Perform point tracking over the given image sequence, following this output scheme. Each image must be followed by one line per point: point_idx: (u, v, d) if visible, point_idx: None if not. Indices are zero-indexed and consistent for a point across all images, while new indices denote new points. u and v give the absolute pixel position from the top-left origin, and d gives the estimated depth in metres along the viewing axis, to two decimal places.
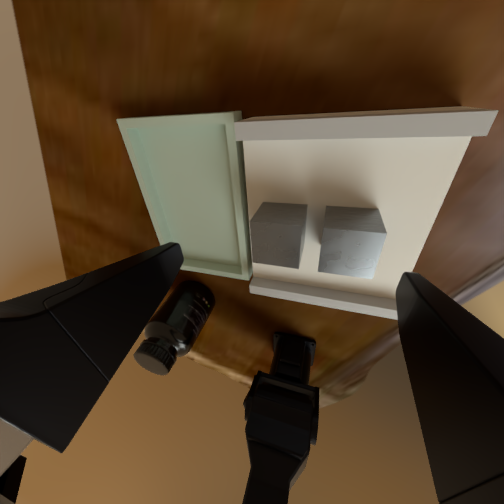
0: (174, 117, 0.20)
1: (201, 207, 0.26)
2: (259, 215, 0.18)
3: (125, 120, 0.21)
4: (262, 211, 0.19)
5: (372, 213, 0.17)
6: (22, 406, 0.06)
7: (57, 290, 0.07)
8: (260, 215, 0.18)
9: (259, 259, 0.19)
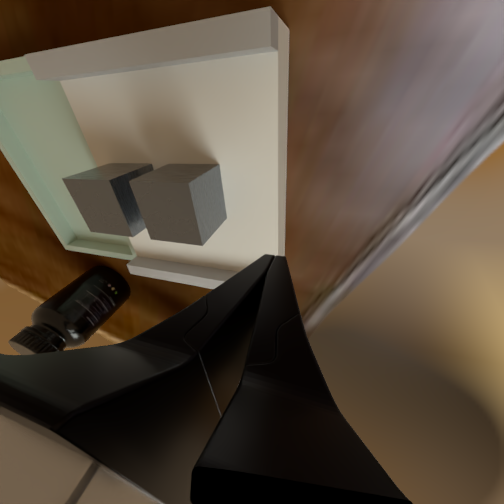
0: None
1: None
2: (82, 173, 0.15)
3: None
4: (92, 170, 0.16)
5: (205, 168, 0.14)
6: (169, 476, 0.04)
7: (187, 321, 0.05)
8: (83, 173, 0.15)
9: (94, 227, 0.16)
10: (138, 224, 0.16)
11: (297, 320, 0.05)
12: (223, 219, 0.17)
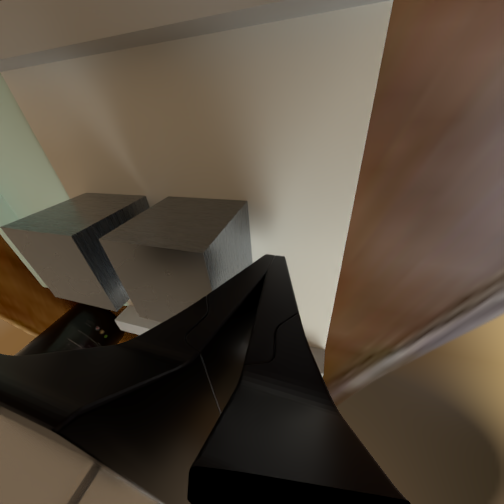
0: None
1: (51, 204, 0.18)
2: (38, 215, 0.10)
3: None
4: (55, 209, 0.10)
5: (226, 209, 0.09)
6: (171, 476, 0.04)
7: (189, 321, 0.05)
8: (39, 215, 0.10)
9: (59, 292, 0.11)
10: (125, 290, 0.11)
11: (296, 320, 0.05)
12: None
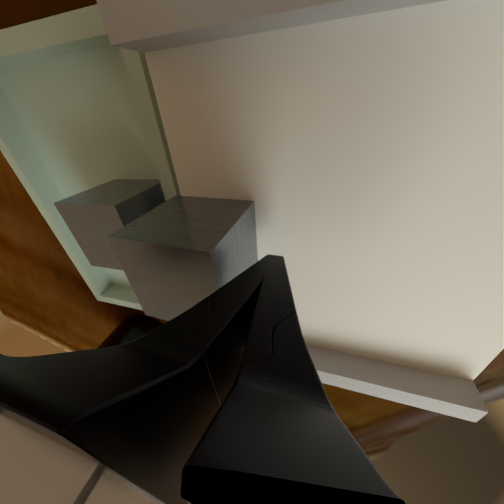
0: (21, 28, 0.09)
1: None
2: (123, 181, 0.14)
3: None
4: (131, 182, 0.13)
5: (233, 209, 0.09)
6: (174, 478, 0.04)
7: (191, 322, 0.05)
8: (122, 182, 0.14)
9: None
10: (97, 259, 0.13)
11: (293, 319, 0.05)
12: None
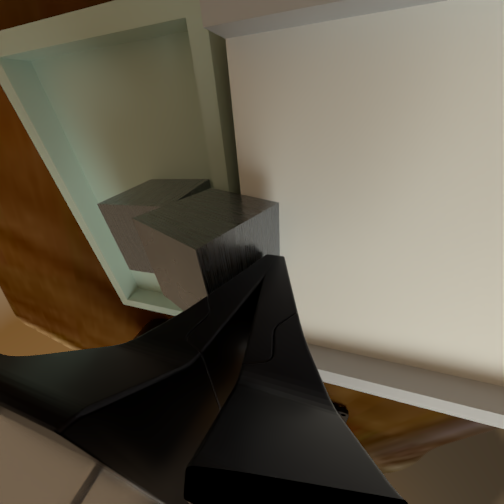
0: (76, 15, 0.09)
1: None
2: (162, 181, 0.13)
3: None
4: (171, 181, 0.13)
5: (251, 208, 0.08)
6: (172, 477, 0.04)
7: (190, 322, 0.05)
8: (161, 181, 0.13)
9: None
10: (137, 263, 0.12)
11: (295, 320, 0.05)
12: None
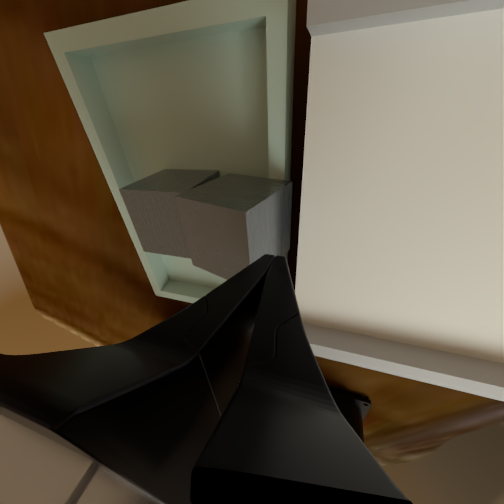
0: (153, 12, 0.09)
1: None
2: (175, 171, 0.14)
3: (60, 33, 0.11)
4: (184, 171, 0.14)
5: (272, 186, 0.11)
6: (169, 476, 0.04)
7: (188, 321, 0.05)
8: (174, 171, 0.14)
9: None
10: (152, 245, 0.13)
11: (297, 320, 0.05)
12: (284, 251, 0.13)
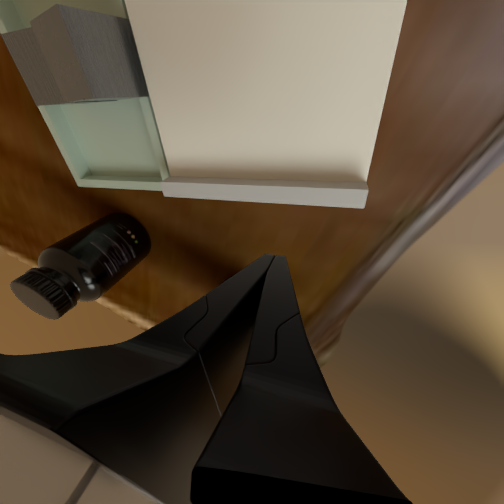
0: None
1: None
2: None
3: None
4: None
5: None
6: (169, 476, 0.04)
7: (187, 321, 0.05)
8: None
9: None
10: (39, 95, 0.17)
11: (297, 320, 0.05)
12: (140, 93, 0.16)
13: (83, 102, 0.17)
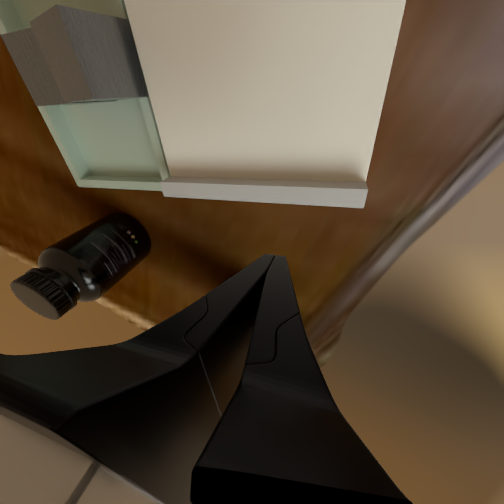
0: None
1: None
2: None
3: None
4: None
5: None
6: (169, 476, 0.04)
7: (188, 321, 0.05)
8: None
9: None
10: (39, 96, 0.17)
11: (297, 320, 0.05)
12: (140, 93, 0.16)
13: (83, 102, 0.17)
